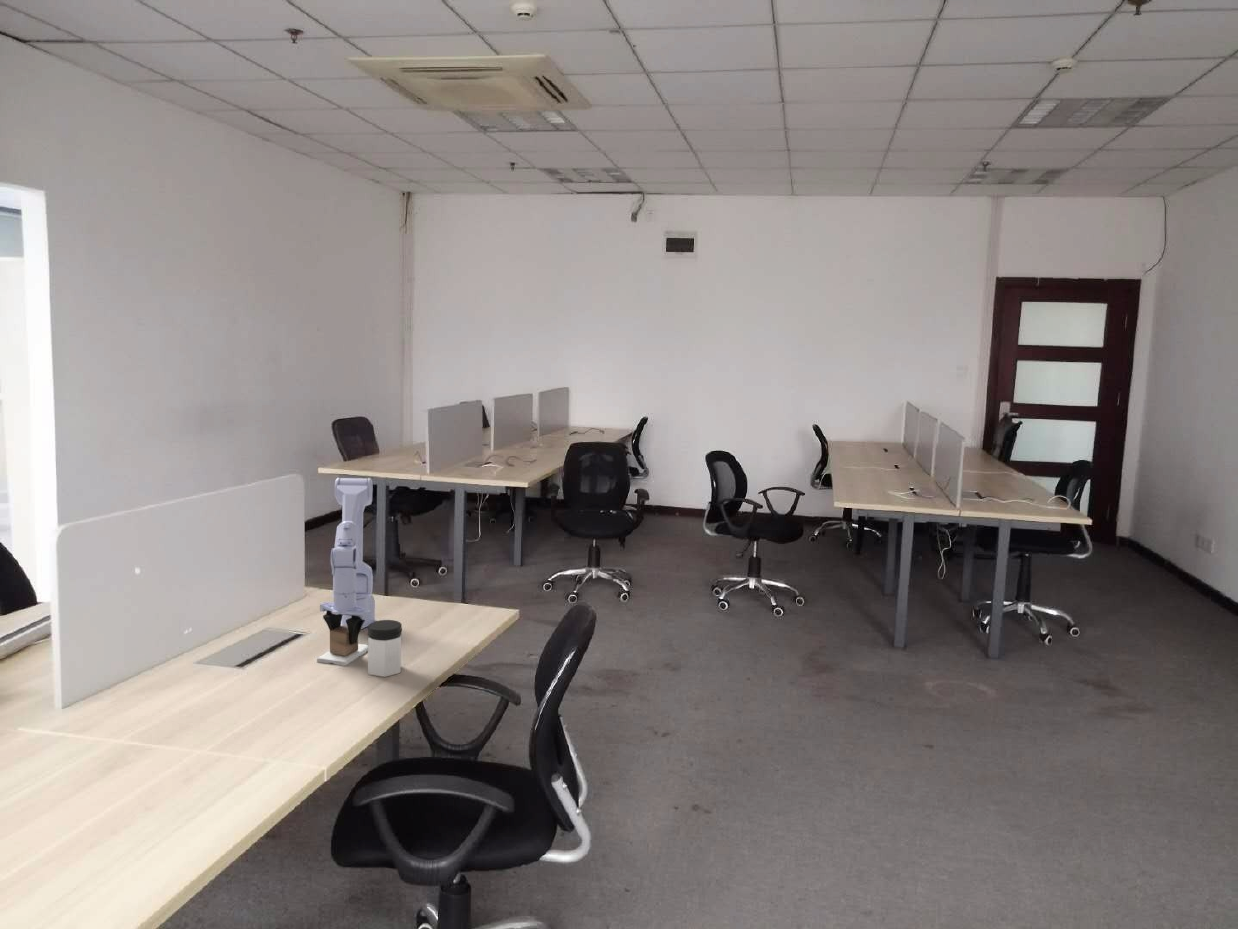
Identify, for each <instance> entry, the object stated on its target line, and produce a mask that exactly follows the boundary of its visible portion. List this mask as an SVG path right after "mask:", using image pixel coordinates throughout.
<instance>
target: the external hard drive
mask: <svg viewBox="0 0 1238 929" xmlns="http://www.w3.org/2000/svg"><path fill="white" fill-rule="evenodd" d="M366 651H367V652H368V644H363V643H362V644H361V643H358V650H357V651H355V652H353V653H351V654H349V655H347V656H342V655H338V654H333V653H330V650H328V651H327V652H326V653H323V654H322V655H320V656H318V657H317V658H316V662H317V663H322V664H329V665H335V666H342V667H343V666H344V667H346V666H348V665H349V664H351V663H352V662H354V661H355V660H356V659H358V658H360V657H362V655H364V654H366V653H367V652H366ZM359 656H360V657H359ZM350 662H351V663H350Z"/></svg>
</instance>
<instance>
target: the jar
mask: <svg viewBox="0 0 1238 929" xmlns="http://www.w3.org/2000/svg"><path fill="white" fill-rule="evenodd" d="M402 624H403V623H401V622H400V621H398V620H393V619H382V620H381V619H380V620H377V621H375V622H372V623H370V624H369V626H367V630H368V631H367V635H368V639H367V641H368V643H367V645H368V651H367V674H368V675H370V676H376V677H381V678H386V677H391V676H394V675H397V674H400V673H401V670H402V632H403V625H402Z"/></svg>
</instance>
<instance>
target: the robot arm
mask: <svg viewBox="0 0 1238 929" xmlns="http://www.w3.org/2000/svg"><path fill="white" fill-rule="evenodd" d="M373 483H374V482H373V480H372V479H371V477H368V478H357V477H356V478H354V477H349V478H348V477H347V478H346V477H341V478H340V477H337V478H336V479H335V481H334V497H335V499H336V502H337V504H338V505H341V506H342V508H341V510H342V514H341V517H342V518H341V522H340V523H339V524H338V525H337V527H336V532H335V540H334V545H333V546H334V548H331V552H330V566H331V575H332V576H333V577H332V581H333V582H332V602H322V603H319V612H323V613H324V612H326V613H325V614H323V615H322V619H323V621H324V622H325V624H326V626H327V627H328V629H329V631H330V630H333V629H335V628H337V627H340V626H342V625H345V626H348V631H349V643H350V644H351V645H352V644H354V643H356V642H357V639H358V640H359V635H360V632H361V630H363V629H365V628H366V627H367V628H368V626H369V624H370V623H372V622H375V621H378V620H377V619H376V618H375V616H376V610H375V609H376V601H375V598H374V597H375V596H374V595H373V594H372V593H373V589H374V588H373V587H374V583H373V582H374V578H373V569H372V567H371V566H370V565H369V564H368V563H366V562H364V561H363V560H364V558H363V557H364V556H363V555H364V554H363V553H364V552H363V551H364V511H365V509H366V507H367V506H370V505H372V502H373V491H374V488H373V487H374V486H373Z"/></svg>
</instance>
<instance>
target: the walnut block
mask: <svg viewBox="0 0 1238 929" xmlns="http://www.w3.org/2000/svg"><path fill="white" fill-rule="evenodd" d="M358 644H359V638H358V639H357V642H356V643H354V644H352V645H351V644H350V643H349V631H348V626H345V625H342V626H340V627H337V628H335V629H333V630H329V651H330V653H333V654H338V655H342V656H347V655H349V654H351V653H353V652H355V651H357V650H358Z"/></svg>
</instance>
